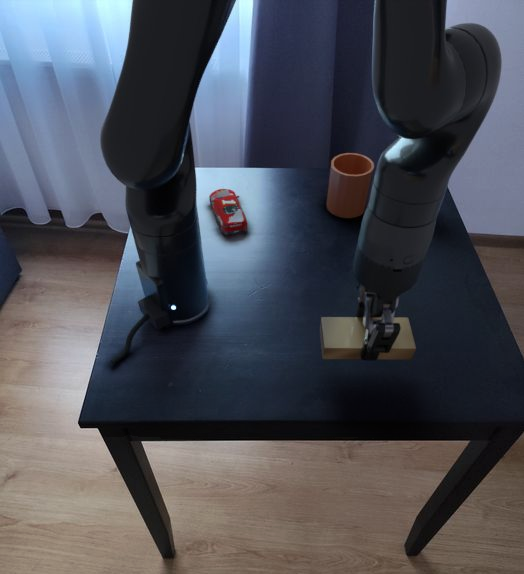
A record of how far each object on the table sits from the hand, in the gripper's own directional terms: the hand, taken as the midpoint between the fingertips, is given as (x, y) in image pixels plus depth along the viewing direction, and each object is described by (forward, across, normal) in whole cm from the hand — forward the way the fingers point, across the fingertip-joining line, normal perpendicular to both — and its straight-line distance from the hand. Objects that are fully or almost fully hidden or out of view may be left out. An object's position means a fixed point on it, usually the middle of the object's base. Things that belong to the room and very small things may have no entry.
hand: (365, 340), depth 65 cm
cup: (+6, -39, +2) cm, 40 cm away
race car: (+6, -36, -21) cm, 42 cm away
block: (+1, 0, 0) cm, 1 cm away
